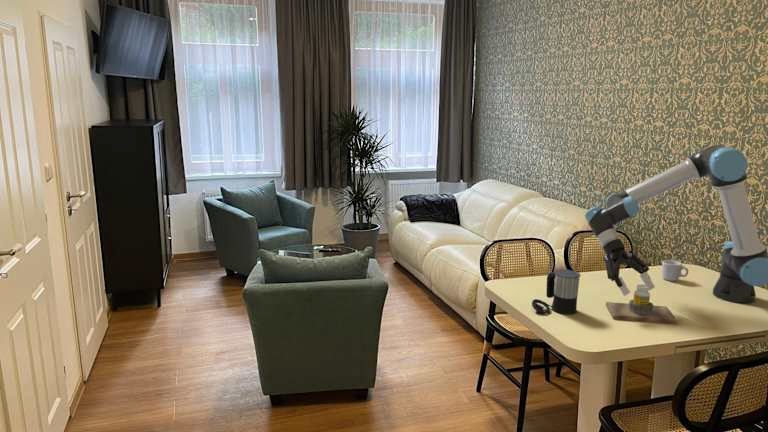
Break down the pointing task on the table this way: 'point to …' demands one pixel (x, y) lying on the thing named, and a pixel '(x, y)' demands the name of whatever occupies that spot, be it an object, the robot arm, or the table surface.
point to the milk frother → (560, 292)
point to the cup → (672, 270)
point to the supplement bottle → (641, 295)
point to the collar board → (641, 312)
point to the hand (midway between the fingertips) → (639, 291)
